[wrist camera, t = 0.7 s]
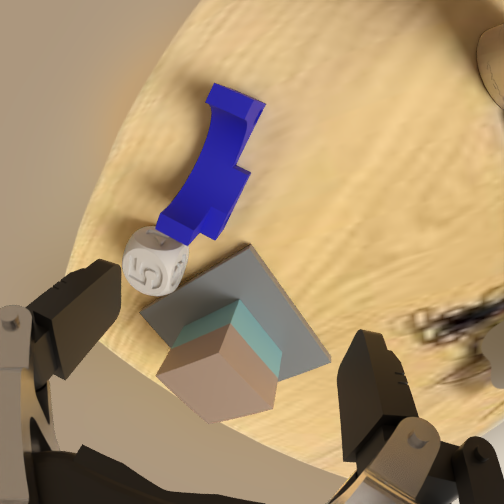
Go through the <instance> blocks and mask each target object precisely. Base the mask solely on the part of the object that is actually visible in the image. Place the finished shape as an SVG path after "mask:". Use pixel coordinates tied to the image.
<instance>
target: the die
mask: <svg viewBox="0 0 504 504" xmlns="http://www.w3.org/2000/svg"><path fill="white" fill-rule="evenodd" d="M155 227H156V226H147V227H143V228H140V229H138V230H137V231H136V232H134V233H133V235H132V236H131V237H130V239H129V241H128V243H127V245H126V248H125V250H124V254H123V259H122V269H123V273H124V275H125V277H126V279H127V281H128V282H129V283H130V284H131V286H133V287H134V288H135V289H136V290H138V291H139V292H141V293H143V294H146V295H150V296H163V295H167V294H169V293H172V292H174V291H175V290H176V288H177V287H178V285H179V283H180V281H181V279H182V277H183V274H184V271H185V268H186V265H187V261H188V256H189V246H186V245H184V244H182V243H180V242H178V241H176V240H175V239H173V238H171V237H169V236H167V235H165V234H163V233H161V232H160V231H158V230H156V229H155Z"/></svg>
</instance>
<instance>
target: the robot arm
mask: <svg viewBox="0 0 504 504" xmlns="http://www.w3.org/2000/svg"><path fill="white" fill-rule="evenodd" d="M477 63H478V68H479V72H480V75H481V78H482V80H483V83H484V85H485V87H486V89H487V91H488V92H489V94H490V96H491V97H492V98H493V99H494V101H495V102H496V103H497V104H498V105H499V106H500V107H501V108H502V109H503V110H504V24H501V25H498V26H496V27H493V28H491V29H488V30H486V31H485V32H484V33H483V34H482V36H481V37H480V39H479V42H478V46H477ZM120 308H121V267H120V266H119V265H118V264H115V263H112V262H109V261H106V260H102V259H98V260H96V261H95V262H93V263H92V264H91V265H89V266H88V267H87V268H82V269H80V270H77V271H74V272H71V273H69V274H68V275H67V276H65V277H64V278H63V279H61V281H60V282H57V283H56V284H55V285H53V288H50V289H48V290H47V291H46V292H44V293H43V294H42V295H40V296H39V297H38V298H37V299H36V300H34V301H33V302H32V303H31V304H29V305H28V306H27V307H22V306H19V305H9V306H4V307H2V308H0V504H265V503H258V502H253V501H247V500H242V499H237V498H231V497H227V496H223V495H218V494H196V493H181V492H171V491H166V490H164V489H162V488H160V487H158V486H156V485H155V484H153V483H152V482H150V481H148V480H147V479H145V478H144V477H142V476H141V475H139V474H137V473H136V472H135V471H133V470H132V469H130V468H129V467H127V466H126V465H124V464H123V463H121V462H119V461H116V460H114V459H112V458H110V457H107V456H105V455H103V454H101V453H99V452H97V451H95V450H92V449H91V448H89V447H87V446H84V445H83V444H82V446H81V447H80V449H79V451H78V453H72V452H66V451H60V448H59V445H58V442H57V439H56V436H55V431H54V423H53V414H52V404H51V392H50V391H51V390H50V382H49V379H50V377H51V376H52V375H53V374H54V375H56V376H58V377H60V378H62V379H64V380H66V379H67V378H68V377H69V375H70V374H71V373H72V372H73V370H74V369H75V368H76V367H77V365H78V364H79V363H80V362H81V361H82V360H83V358H84V357H85V356H86V355H87V353H88V352H89V351H90V350H91V349H92V347H93V346H94V345H95V344H96V343H97V341H98V340H99V339H100V338H101V337H102V336H103V334H104V333H105V332H106V331H107V330H108V329H109V327H110V326H111V325H112V324H113V323H114V322H115V320H116V319H117V317H118V315H119V312H120ZM404 374H405V373H404V370H403V367H402V365H401V362H400V361H399V359H398V358H397V357H396V356H395V354H394V353H393V352H392V351H389V350H387V347H386V344H385V341H384V338H383V336H382V334H380V333H376V332H371V331H366V330H361V329H360V330H358V332H357V333H356V335H355V336H354V339H353V341H352V343H351V345H350V347H349V349H348V351H347V353H346V355H345V356H344V358H343V360H342V362H341V364H340V367H339V370H338V374H337V388H338V398H339V409H340V421H341V434H342V450H343V462H356V464H357V469H356V470H355V471H354V472H353V473H352V475H351V476H350V477H349V478H348V479H347V480H346V482H345V483H344V484H343V485H342V486H341V487H340V489H339V490H338V491H337V492H336V493H335V494H334V495H333V497H331V499H330V500H329V501H328V502H327V503H326V504H451V503H452V502H453V501H454V500H456V499H457V498H459V503H460V504H504V478H503V474H502V472H501V468H500V464H499V461H498V458H497V455H496V452H495V450H494V448H493V447H492V445H491V444H490V443H489V442H488V441H487V440H485V439H484V438H481V437H477V436H474V437H470V438H468V439H467V440H466V441H465V442H464V443H463V444H462V445H461V446H456V445H453V444H449V443H446V442H443V441H440V436H439V434H438V432H437V430H436V429H435V427H434V426H433V425H432V424H431V423H429V422H428V421H426V420H424V419H422V418H419V416H418V413H417V410H416V407H415V403H414V400H413V397H412V394H411V391H410V388H409V385H407V384H408V382H407V379H406V376H404Z"/></svg>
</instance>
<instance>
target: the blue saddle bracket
mask: <svg viewBox="0 0 504 504" xmlns="http://www.w3.org/2000/svg"><path fill="white" fill-rule="evenodd" d="M206 103H208V104H209V105H210V107H211V112H212V116H211V123H210V128H209V132H208V135H207V138H206V141H205V144H204V146H203V149H202V151H201V153H200V156H199V158H198V160H197V162H196V164H195V166H194V168H193V170H192V172H191V174H190V175H189V177H188V179H187V181H186V182H185V184H184V185H183V187H182V188H181V190H180V191H179V193H178V194H177V196H176V197H175V198H174V200H173V201H172V202H171V203H170V204H169V205H168V207H167V208H166V209H164V210H163V211H162V212H161V213H160V215H159V218H158V221H157V224H156V227H155V229H156V230H158V231H160V232H161V233H163V234H165V235H167V236H169V237H171V238H173V239H175V240H176V241H178V242H180V243H182V244H184V245H186V246H188V245H189V244H190V243H191V242H192V241H193V240H194V239H195V237H196V236H197V235H198V234H199V233H202V234H204V235H205V236H207V237H209V238H211V239H213V240H216V239H217V238H218V236H219V235H220V233H221V232H222V231H223V229H224V227H225V225H226V223H227V221H228V219H229V217H230V215H231V213H232V211H233V209H234V207H235V205H236V203H237V200H238V198H239V196H240V194H241V192H242V190H243V188H244V186H245V184H246V182H247V180H248V178H249V176H250V174H251V172H249V171H247V170H245V169H243V168H241V167H239V166H237V165H236V164H237V162H238V160H239V157H240V155H241V153H242V151H243V149H244V147H245V145H246V143H247V141H248V139H249V137H250V135H251V133H252V131H253V129H254V127H255V125H256V123H257V121H258V119H259V117H260V115H261V113H262V111H263V109H264V107H265V105H266V104H265V103H263V102H261V101H258V100H256V99H254V98H252V97H249V96H247V95H245V94H243V93H240V92H238V91H236V90H233V89H230V88H228V87H225V86H222V85H219V84H216V83H214V85H213V87H212V89H211V91H210V93H209V95H208V97H207V99H206Z"/></svg>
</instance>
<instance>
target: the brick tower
mask: <svg viewBox="0 0 504 504" xmlns="http://www.w3.org/2000/svg"><path fill="white" fill-rule="evenodd" d="M139 313H140V314H141V315H142V316H143V317H144V319H145V320H146V321H147V322H148V323H149V324H150V326H151V327H152V328H153V329H154V330H155V331H156V332H157V333H158V335H159V336H160V337H161V338H162V339H163V340H164V341H165V342H166V343H167V344H168V346H169V347H170V348H171V349H170V351H169V353H168V355H167V356H166V358H165V360H164V362H163V363H162V365H161V367H160V369H159V371H158V372H157V374H156V377H157V378H158V379H159V380H160V381H161V382H162V383H163V384H164V385H165V386H166V387H167V388H169V389H170V390H171V391H172V392H173V393H174V394H175V395H176V396H177V397H178V398H179V399H180V400H181V401H183V402H184V403H185V404H186V405H187V406H188V407H189V408H190V409H191V410H193V411H194V412H195V413H196V414H197V415H199V417H201V418H202V419H203V420H204V421H205V422H207V423H208V424H211V423H216V422H221V421H226V420H230V419H235V418H239V417H243V416H247V415H252V414H256V413H259V412H263V411H267V410H271V409H273V406H274V400H275V394H276V388H277V382H279V381H282V380H285V379H287V378H290V377H293V376H296V375H299V374H302V373H304V372H307V371H310V370H312V369H315V368H318V367H320V366H323V365H326V364H328V363H331V356H330V354H329V353H328V351H327V350H326V349H325V347H324V346H323V344H322V343H321V342H320V340H319V339H318V337H317V336H316V334H315V333H314V332H313V330H312V329H311V327H310V326H309V325H308V323H307V322H306V320H305V319H304V318H303V316H302V315H301V313H300V312H299V311H298V309H297V308H296V306H295V305H294V303H293V302H292V301H291V299H290V298H289V296H288V295H287V294H286V292H285V291H284V289H283V288H282V287H281V285H280V284H279V282H278V281H277V280H276V278H275V277H274V275H273V274H272V273H271V271H270V270H269V268H268V267H267V266H266V264H265V263H264V261H263V260H262V259H261V257H260V256H259V254H258V253H257V252H256V250H255V249H254V247H253V246H252V245H251V244H250V245H249V246H247V247H245V248H244V249H242V250H240V251H239V252H237V253H235V254H233V255H232V256H230V257H228V258H227V259H225V260H223V261H221V262H220V263H218V264H216V265H215V266H213V267H211V268H210V269H208V270H206V271H204V272H203V273H201V274H199V275H198V276H196V277H194V278H193V279H191V280H189V281H188V282H186V283H184V284H182V285H181V286H179V287H177V288H176V290H175V291H174V292H172V293H169V294H167V295H164V296H162V297H160V298H159V299H157V300H155V301H154V302H152V303H150V304H149V305H147V306H145V307H144V308H143V309H142V310H141V311H140V312H139Z"/></svg>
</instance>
